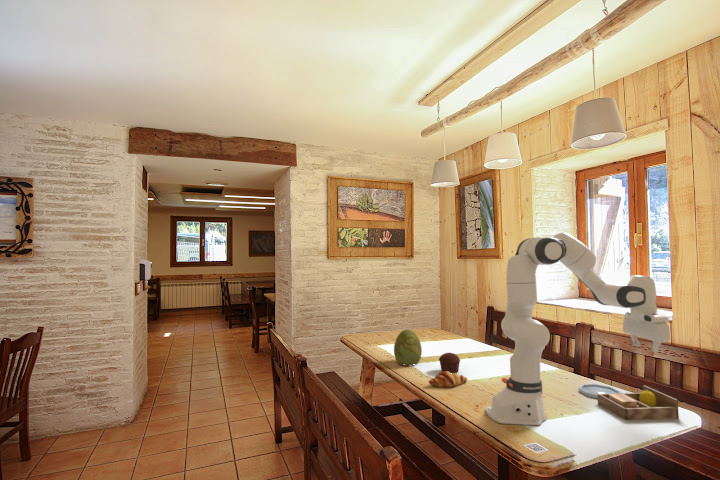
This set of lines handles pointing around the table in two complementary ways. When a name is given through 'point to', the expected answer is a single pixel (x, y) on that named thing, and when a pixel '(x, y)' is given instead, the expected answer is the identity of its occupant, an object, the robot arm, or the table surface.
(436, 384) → the croissant
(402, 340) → the decorative sculpture
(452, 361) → the muffin
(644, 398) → the lemon
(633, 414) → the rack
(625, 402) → the block
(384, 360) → the table surface
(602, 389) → the plate
